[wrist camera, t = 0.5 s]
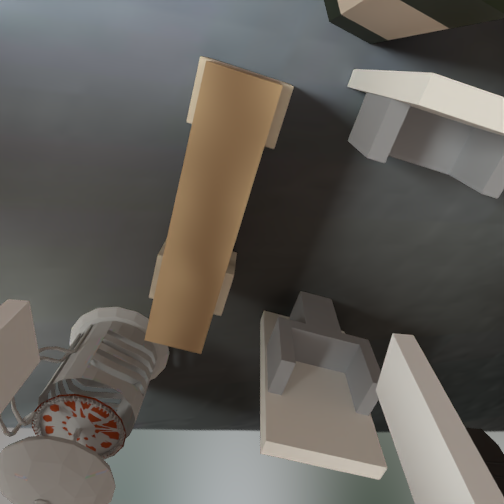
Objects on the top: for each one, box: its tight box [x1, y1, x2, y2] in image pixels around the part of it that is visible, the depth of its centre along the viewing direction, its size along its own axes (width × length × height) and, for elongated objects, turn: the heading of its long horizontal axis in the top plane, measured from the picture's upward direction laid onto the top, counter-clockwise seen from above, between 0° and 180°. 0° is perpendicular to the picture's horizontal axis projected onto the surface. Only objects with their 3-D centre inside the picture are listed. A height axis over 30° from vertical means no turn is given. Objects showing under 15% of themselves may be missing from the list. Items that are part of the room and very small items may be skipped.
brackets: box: [260, 69, 504, 480], centre depth 26 cm, size 8×22×14 cm, turn 163°
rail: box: [144, 61, 283, 354], centre depth 26 cm, size 4×18×5 cm, turn 163°
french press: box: [0, 307, 169, 504], centre depth 27 cm, size 10×12×25 cm
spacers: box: [149, 56, 294, 316], centre depth 30 cm, size 6×18×4 cm, turn 163°
